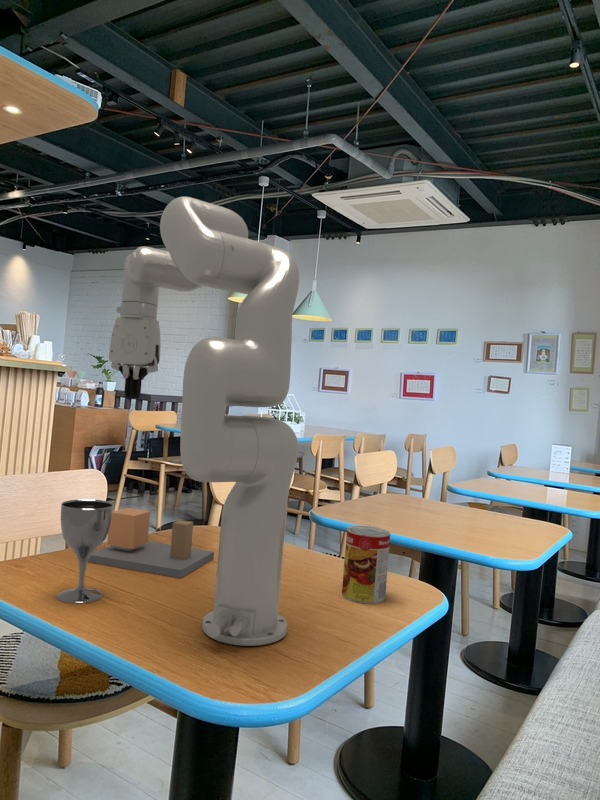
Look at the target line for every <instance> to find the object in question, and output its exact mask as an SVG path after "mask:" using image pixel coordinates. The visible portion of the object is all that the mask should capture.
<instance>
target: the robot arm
mask: <svg viewBox="0 0 600 800" xmlns="http://www.w3.org/2000/svg"><path fill="white" fill-rule="evenodd" d="M159 221H160V223H159V230H160V231H159V233H160V237H161V239H162V242H163V244H164V246H165V248H166V250H163V249H159V248H155V247H151V246H139V247H137V248H136V249H135V250H133V252H132V253H130V254H129V255H127V256H126V257H125V260H124V266H123V269H124V270H123V279H122V280H123V281H122V294H121V303H120V306H117V307H116V313H117V314H119V316H118V317H116V319H115V320H114V321H115V322H114V324H113V327H112V332H111V337H110V338H111V339H110V344H109V349H108V350H109V351H108V360H109V361H110V362H111V365H110V366H111V369H113V370H116V371H118V372H120V374H121V375H122V378H123V379H125V381H124V390H123V391H124V398H126V399H139V398H140V395H141V394H142V393H141V391H142V381H144V380H145V377H147V375H148V374H152V373H157V372H158V371H159V366H158V365H159V363H160V360H161V359H160V358H161V330H160V323H159V320H157V316H158V306H159V304H158V303H159V291H160V288H163V289H167V290H168V289H169V290H173V291H178V292H191V291H194V290H196V289H199V288H202V287H206V288H211V289H212V288H213V289H217V290H221V291H226V292H230V293H231V292H233V293H238V294H242V295H246V296H245V297H244V299H243V300H242V302H241V303H240V304H239V306H238V309H237V311H236V315H235V331H234V339H231V338H224V337H214V336H213V337H206V338H203V339H201V340H199V341H197V342H196V343H195V344H194V346H193V347H192V348H191V349H190V351H189V354H188V356H187V359H186V362H185V365H184V371H183V377H182V378H183V379H182V394H181V395H182V398H181V418H180V420H181V423H180V424H181V425H180V443H179V444H180V446H179V448H180V450H179V452H180V461H181V465H182V468H183V471H184V472H185V474H186V475H187V477H189V478H190V479H191V480H194V481H197V482H199V483H234V485H233V486H232V487H231V490H230V491H229V492H228V494H227V497H226V499H225V501H224V504H223V507H222V510H221V518H220V519H221V520H220V531H219V544H218V555H217V567H216V568H217V570H216V582H215V594H214V607H213V610H212V611H209V612H208V613H207V614H205V615H204V617H203V618H202V625H201V627H202V628H201V629H202V631H203V632H204V634H205V635H206V636H208V637H209V638H210V639H212V640H215V641H217V642H220V643H222V644H223V643H224V644H228V645H232V646H233V645H234V646H240V647H241V646H243V647H244V646H245V647H246V646H247V647H250V646H251V647H253V646H254V647H257V646H265V645H269V644H272V643H275V642H278V641H280V640H282V639H283V638H284V637H285V636H286V634H287V632H288V622H287V620H286V619H285V618H284V617H283V616H282V615H280V614H279V605H280V593H281V592H280V591H281V580H282V569H283V568H282V567H283V556H284V555H283V554H284V543H285V533H286V531H285V530H286V529H285V528H286V522H287V521H286V519H287V508H288V500H289V496H290V495H289V492H290V488H291V483H292V480H293V476H294V473H295V468H296V465H297V460H298V455H299V443H298V438H297V435H296V433H295V431H294V430H293V428H292V427H291V426H290V425H288V424H287V423H285V422H284V421H283V420H280V419H278V418H274V417H268V416H254V415H251V416H250V415H230V414H229V415H228V414H226V411H227V407H243V408H244V407H247V408H272V407H276V406H279V405H281V404H282V403H284V401H285V400H286V399H287V397H288V393H289V389H290V384H291V370H292V369H291V368H292V367H291V366H292V341H293V340H292V339H293V338H292V337H293V315H294V310H295V309H294V308H295V304H296V302H297V301H296V300H297V297H298V292H299V284H300V271H299V266H298V263H297V261H296V259H295V258H294V256H293V255H292V254H291V253H290V252H288V251H287V250H285V249H284V248H283V249H282V248H280V247H277V246H274V245H271V244H268V243H264V242H262V241H258V240H253V239H250V238H249V229H248V226H247V224H246V222H245V221H244V219H243V217H242V216H240V215H239V214H238V213H237V212H235V211H233V210H232V209H229V208H227V207H224V206H220V205H217V204H214V203H210V202H207V201H204V200H201V199H197V198H194V197H190V196H180V197H179V196H178V197H176V198H174V199H172V200H171V201H170V202H169V203H168V204H167V205H166V206H165V208H164V210H163V212H162V213H161V218H160V220H159Z"/></svg>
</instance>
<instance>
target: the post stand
mask: <svg viewBox="0 0 600 800" xmlns="http://www.w3.org/2000/svg"><path fill="white" fill-rule="evenodd" d="M171 530H172V532H171V539H170V540H171V543H170V544H167V543H160V542H156V541H155V542H154V541H149V540H148V543H146V544H144V545H141V546H139V547H138V548H137V549H134V550H132V551H123V550H117V547H116V546H110V545H108V546H107V547H103V548H101V549H98V550H95V551H94V552H93V553H92V554H91V556H90V557H89V559H88V561H87V563H89V564H96V565H100V566H106V567H107V566H109V567H114V568H120V569H126V570H131V571H136V572H142V573H146V574H147V573H149V574H153V575H159V576H160V575H161V576H164V577H166V576H167V577H169V578H170V577H171V578H177V579H182V578H184V577H186V576H188V575H189V574H190V573H193V572H194V571H195V570H197V569H199V568H200V567H203V566H204V565H206V564H207V563H209V562H211V561H212V560H214V558H215V556H214V555H215V551H212V550H205V549H200V548H199V549H198V548H193V546H192V545H193V532H194V531H193V530H194V521H191V520H190V521H188V520H183V519H182V520H181V519H180V520H176V521H174V522H172V529H171Z"/></svg>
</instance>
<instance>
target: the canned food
mask: <svg viewBox="0 0 600 800" xmlns="http://www.w3.org/2000/svg"><path fill="white" fill-rule="evenodd" d="M390 542H391V532H390V531H389V530H387V529H383V528H381V527H377V526H371V525H369V526H367V525H352V526H351V525H350V526H348V527H347V528H346V538H345V551H344V562H343V563H344V564H343V573H342V574H343V575H342V576H343V577H342V587H341V595H342V597H343V598H344V599H346V600H348V601H351V602H354V603H357V604H364V605H365V604H366V605H376V604H380V603H383V602H384V601H386V596H387V595H386V594H387V593H386V592H387V582H388V580H387V579H388V569H389V568H388V567H389V556H390V555H389V554H390V545H391V544H390Z"/></svg>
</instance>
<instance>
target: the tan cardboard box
mask: <svg viewBox="0 0 600 800" xmlns="http://www.w3.org/2000/svg"><path fill="white" fill-rule="evenodd" d="M150 518H151V511H149V510H143V509H136V508H131V507H130V508H129V507H124V508H120V509H117V510H113V511H112V519H111V524H110V528H109V531H108V534H107V540H106V541H107V542H106V543H107V544H106V545H107V546H116V547H123V548H129V549H134V548H137V547H139V546H141V545H144V544H146V543H148V541H149V532H150V531H149V530H150V521H151V520H150Z"/></svg>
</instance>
